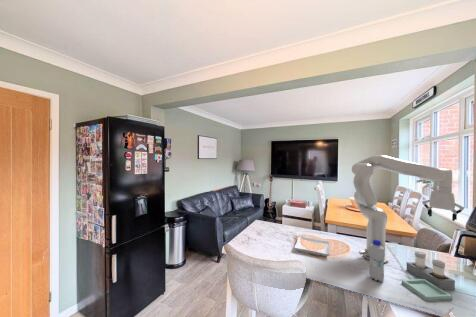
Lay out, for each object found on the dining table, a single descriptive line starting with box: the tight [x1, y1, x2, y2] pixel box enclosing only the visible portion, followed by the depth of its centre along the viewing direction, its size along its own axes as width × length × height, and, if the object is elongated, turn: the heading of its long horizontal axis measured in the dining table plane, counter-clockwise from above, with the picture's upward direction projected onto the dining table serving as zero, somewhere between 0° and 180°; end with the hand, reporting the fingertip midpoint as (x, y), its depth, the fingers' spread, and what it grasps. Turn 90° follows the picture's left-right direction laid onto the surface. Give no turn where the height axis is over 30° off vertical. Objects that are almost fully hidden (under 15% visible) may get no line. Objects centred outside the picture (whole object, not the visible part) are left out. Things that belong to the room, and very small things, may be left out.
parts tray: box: [401, 278, 453, 302], centre depth 91 cm, size 12×12×2 cm
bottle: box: [368, 240, 386, 283], centre depth 100 cm, size 7×7×20 cm
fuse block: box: [406, 261, 456, 290], centre depth 100 cm, size 17×8×4 cm, turn 4°
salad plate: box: [294, 236, 331, 257], centre depth 132 cm, size 21×21×3 cm
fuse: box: [414, 250, 427, 269], centre depth 105 cm, size 4×4×11 cm
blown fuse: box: [432, 259, 446, 279], centre depth 96 cm, size 4×4×11 cm
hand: (441, 218), depth 115 cm, fingers open, 9 cm apart
